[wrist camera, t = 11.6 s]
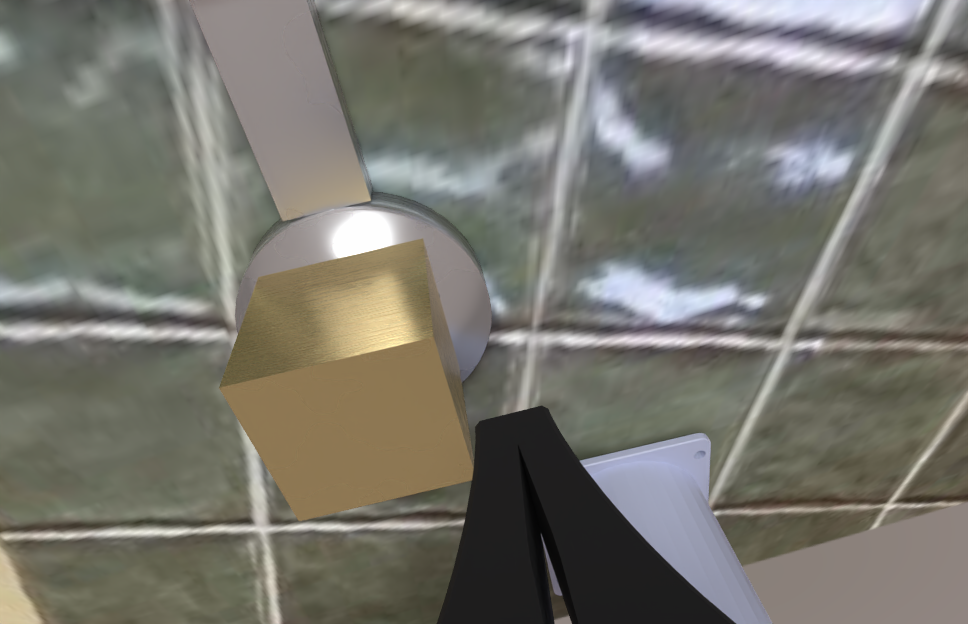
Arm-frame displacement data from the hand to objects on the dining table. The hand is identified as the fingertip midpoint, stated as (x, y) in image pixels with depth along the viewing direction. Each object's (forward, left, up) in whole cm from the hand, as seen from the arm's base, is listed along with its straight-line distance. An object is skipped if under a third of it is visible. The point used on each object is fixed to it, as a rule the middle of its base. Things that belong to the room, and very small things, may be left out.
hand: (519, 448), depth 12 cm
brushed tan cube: (-2, +4, -8) cm, 9 cm away
